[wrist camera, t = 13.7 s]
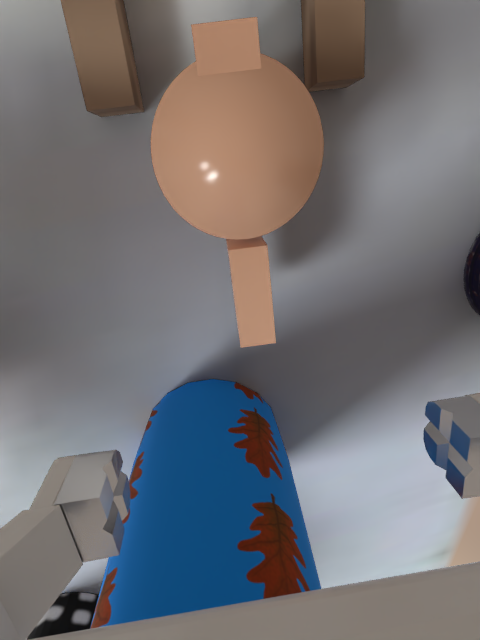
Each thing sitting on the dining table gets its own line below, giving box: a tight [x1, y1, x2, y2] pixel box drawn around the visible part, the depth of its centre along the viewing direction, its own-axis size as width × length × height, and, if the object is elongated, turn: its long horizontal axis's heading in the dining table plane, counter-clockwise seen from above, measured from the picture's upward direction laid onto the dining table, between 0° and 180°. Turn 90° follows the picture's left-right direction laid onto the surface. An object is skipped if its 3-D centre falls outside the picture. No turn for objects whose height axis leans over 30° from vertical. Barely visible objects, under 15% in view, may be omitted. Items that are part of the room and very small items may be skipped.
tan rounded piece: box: [151, 17, 324, 348], centre depth 20 cm, size 13×7×8 cm, turn 7°
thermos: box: [90, 379, 321, 629], centre depth 19 cm, size 11×11×25 cm
